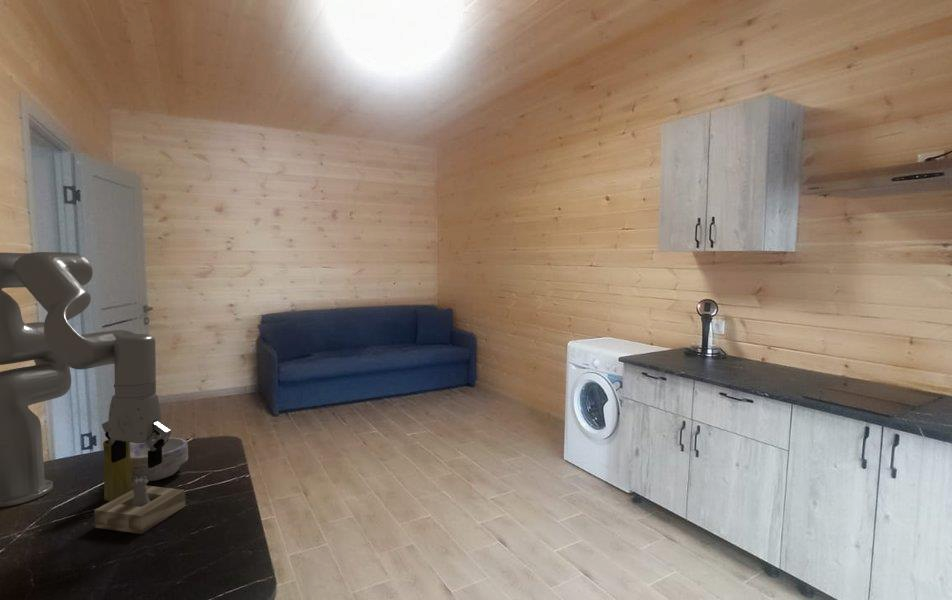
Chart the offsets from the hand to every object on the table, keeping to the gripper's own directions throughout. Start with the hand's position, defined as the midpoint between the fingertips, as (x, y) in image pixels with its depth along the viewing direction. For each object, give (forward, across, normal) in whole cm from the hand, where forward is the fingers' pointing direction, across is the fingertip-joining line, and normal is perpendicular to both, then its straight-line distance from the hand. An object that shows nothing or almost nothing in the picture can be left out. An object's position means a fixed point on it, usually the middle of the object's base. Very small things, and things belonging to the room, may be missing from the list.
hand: (136, 462), depth 109 cm
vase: (+13, -13, +7) cm, 20 cm away
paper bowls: (+13, -14, +19) cm, 27 cm away
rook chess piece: (+12, +1, 0) cm, 12 cm away
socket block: (+12, +1, 0) cm, 13 cm away
